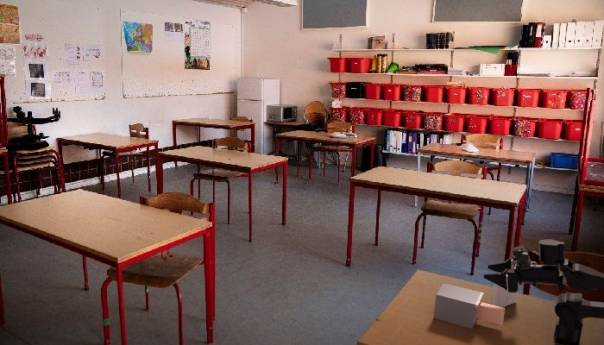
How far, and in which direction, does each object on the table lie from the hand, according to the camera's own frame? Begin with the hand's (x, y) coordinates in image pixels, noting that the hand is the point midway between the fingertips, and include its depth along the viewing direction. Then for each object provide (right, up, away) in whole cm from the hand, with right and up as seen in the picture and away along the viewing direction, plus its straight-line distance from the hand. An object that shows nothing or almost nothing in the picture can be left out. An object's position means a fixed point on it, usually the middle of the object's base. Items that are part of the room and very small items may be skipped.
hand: (485, 271), depth 158 cm
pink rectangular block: (-3, -14, +1) cm, 15 cm away
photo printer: (+11, -14, +15) cm, 23 cm away
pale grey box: (-8, -15, +4) cm, 18 cm away
